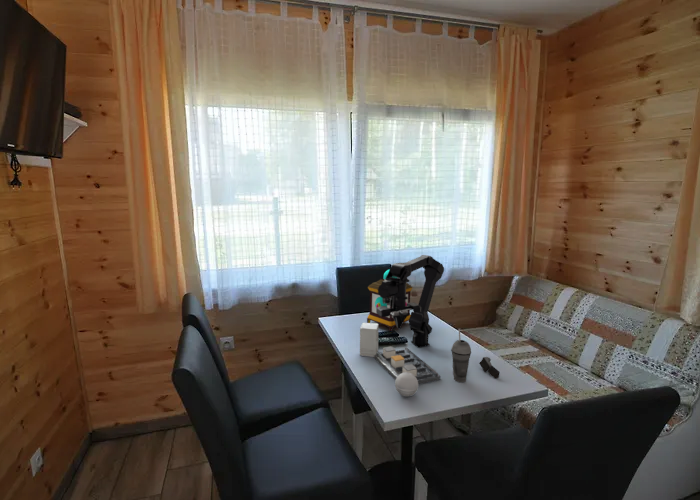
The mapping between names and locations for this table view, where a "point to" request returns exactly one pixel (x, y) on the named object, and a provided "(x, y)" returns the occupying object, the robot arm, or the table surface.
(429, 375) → the panel
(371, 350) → the supplement box
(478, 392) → the table surface
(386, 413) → the table surface
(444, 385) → the table surface
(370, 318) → the decorative lantern
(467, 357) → the beverage cup
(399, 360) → the block
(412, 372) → the breaker near
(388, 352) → the breaker far
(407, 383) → the bath bomb
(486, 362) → the black bow tie
